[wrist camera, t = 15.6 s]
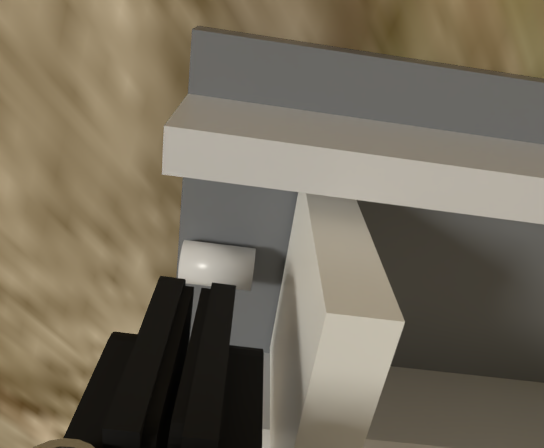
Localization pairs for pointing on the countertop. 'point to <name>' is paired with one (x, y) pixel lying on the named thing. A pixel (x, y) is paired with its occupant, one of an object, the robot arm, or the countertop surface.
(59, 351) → the countertop surface
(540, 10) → the countertop surface
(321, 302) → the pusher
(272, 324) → the lane
